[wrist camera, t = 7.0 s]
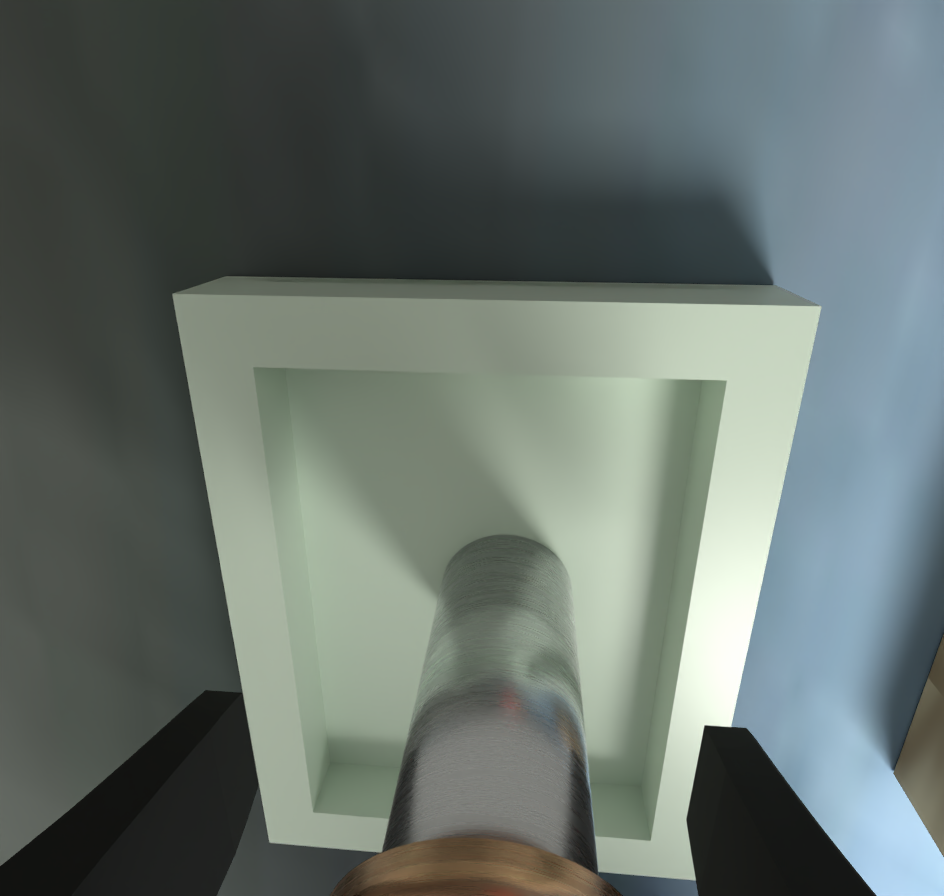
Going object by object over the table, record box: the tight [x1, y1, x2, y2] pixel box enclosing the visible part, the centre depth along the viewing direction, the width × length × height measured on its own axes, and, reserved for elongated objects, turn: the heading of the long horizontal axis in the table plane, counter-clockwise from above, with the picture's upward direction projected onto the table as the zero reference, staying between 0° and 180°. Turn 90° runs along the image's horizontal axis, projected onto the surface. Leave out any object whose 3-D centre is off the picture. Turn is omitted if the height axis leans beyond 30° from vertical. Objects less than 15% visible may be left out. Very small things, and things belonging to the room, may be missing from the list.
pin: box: [330, 535, 623, 896], centre depth 10 cm, size 4×4×8 cm
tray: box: [172, 276, 821, 880], centre depth 14 cm, size 13×10×2 cm
